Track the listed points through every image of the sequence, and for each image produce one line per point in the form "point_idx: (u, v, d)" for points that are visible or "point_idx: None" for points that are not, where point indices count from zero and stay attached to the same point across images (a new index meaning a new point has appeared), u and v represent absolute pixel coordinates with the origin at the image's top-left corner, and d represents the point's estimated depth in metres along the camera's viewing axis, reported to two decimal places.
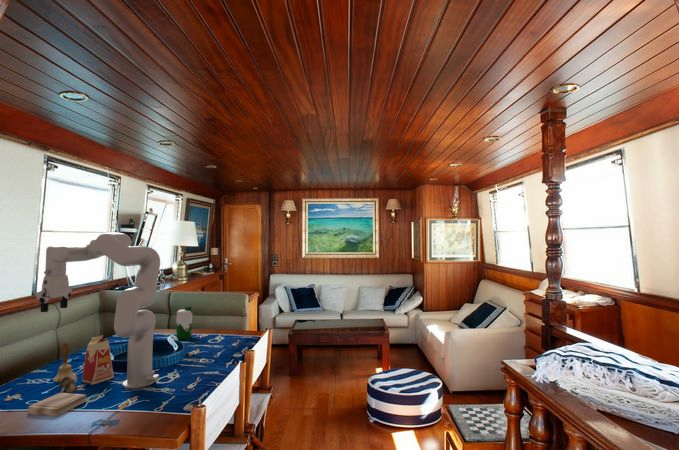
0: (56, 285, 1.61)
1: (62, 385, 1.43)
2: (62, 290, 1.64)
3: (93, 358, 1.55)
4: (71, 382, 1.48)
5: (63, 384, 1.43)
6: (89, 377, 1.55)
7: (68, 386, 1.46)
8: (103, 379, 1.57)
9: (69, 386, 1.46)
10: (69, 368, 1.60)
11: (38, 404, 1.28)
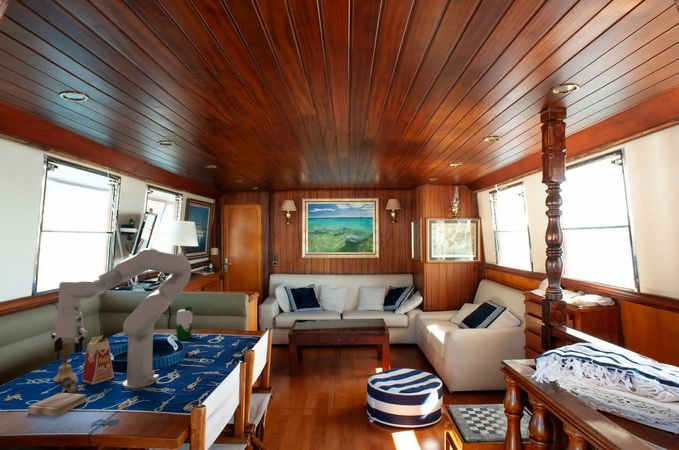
0: None
1: (63, 385, 1.43)
2: None
3: (93, 358, 1.55)
4: (72, 382, 1.47)
5: (64, 384, 1.43)
6: (89, 377, 1.55)
7: (69, 386, 1.45)
8: (103, 379, 1.57)
9: (70, 386, 1.45)
10: (69, 368, 1.60)
11: (38, 404, 1.28)
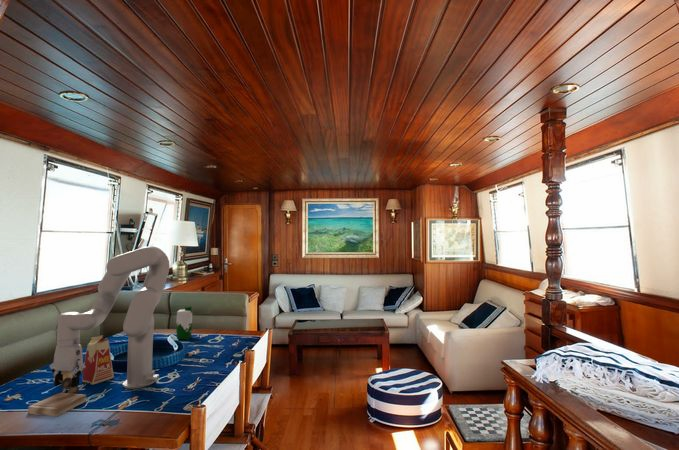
0: None
1: (63, 386, 1.42)
2: None
3: (93, 358, 1.55)
4: None
5: (64, 385, 1.42)
6: (89, 377, 1.55)
7: (69, 387, 1.45)
8: (103, 379, 1.57)
9: (70, 387, 1.45)
10: None
11: (38, 404, 1.28)
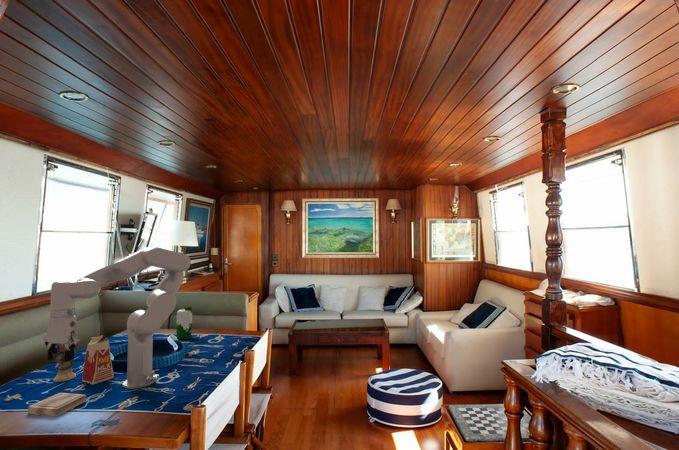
0: None
1: (56, 359, 1.31)
2: None
3: (93, 358, 1.55)
4: None
5: (57, 358, 1.31)
6: (89, 377, 1.55)
7: (63, 361, 1.33)
8: (103, 379, 1.57)
9: (64, 361, 1.33)
10: None
11: (38, 404, 1.28)
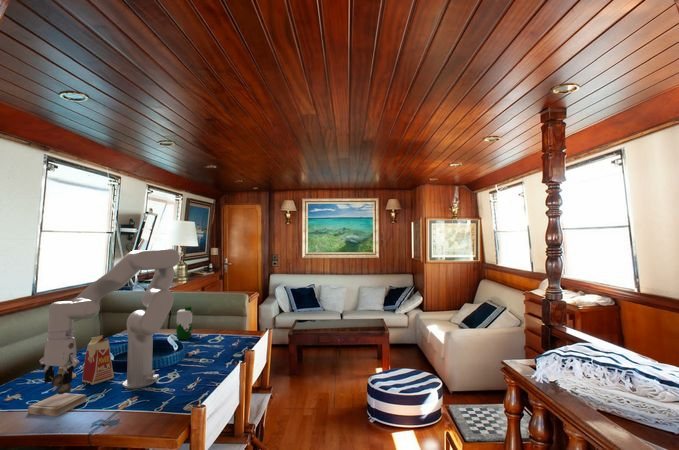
0: None
1: (54, 383, 1.28)
2: None
3: (93, 358, 1.55)
4: None
5: (55, 382, 1.28)
6: (89, 377, 1.55)
7: (61, 384, 1.31)
8: (103, 379, 1.57)
9: (62, 384, 1.31)
10: None
11: (38, 404, 1.28)
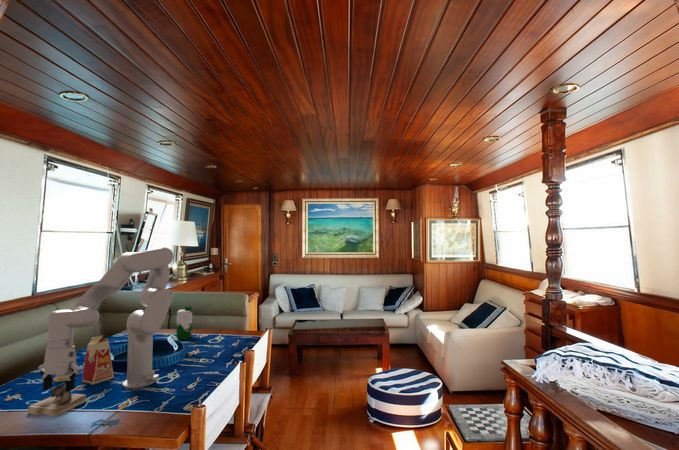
0: None
1: (54, 394, 1.28)
2: None
3: (93, 358, 1.55)
4: (64, 390, 1.33)
5: (56, 393, 1.28)
6: (89, 377, 1.55)
7: (61, 395, 1.31)
8: (103, 379, 1.57)
9: (62, 395, 1.31)
10: None
11: (38, 404, 1.28)
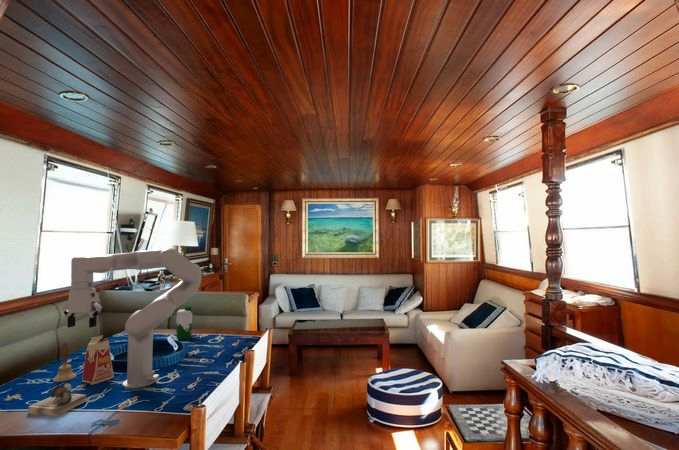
0: None
1: (54, 394, 1.28)
2: None
3: (93, 358, 1.55)
4: (64, 391, 1.32)
5: (56, 393, 1.28)
6: (89, 377, 1.55)
7: (61, 395, 1.31)
8: (103, 379, 1.57)
9: (62, 395, 1.31)
10: (69, 368, 1.60)
11: (38, 404, 1.28)
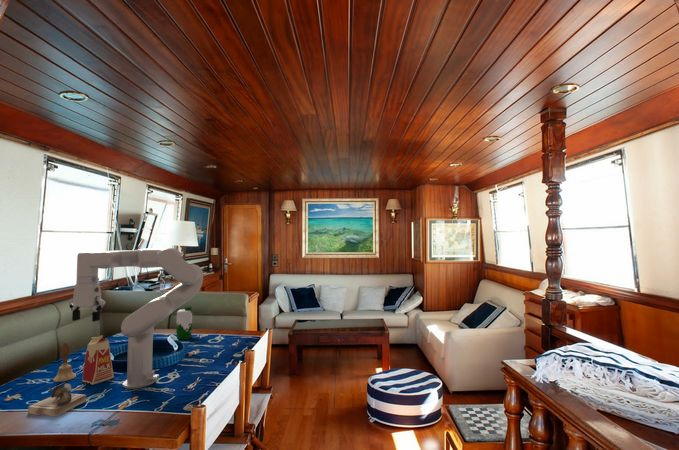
0: None
1: (54, 394, 1.28)
2: None
3: (93, 358, 1.55)
4: (64, 391, 1.32)
5: (56, 393, 1.28)
6: (89, 377, 1.55)
7: (61, 395, 1.30)
8: (103, 379, 1.57)
9: (62, 395, 1.30)
10: (69, 368, 1.60)
11: (38, 404, 1.28)
